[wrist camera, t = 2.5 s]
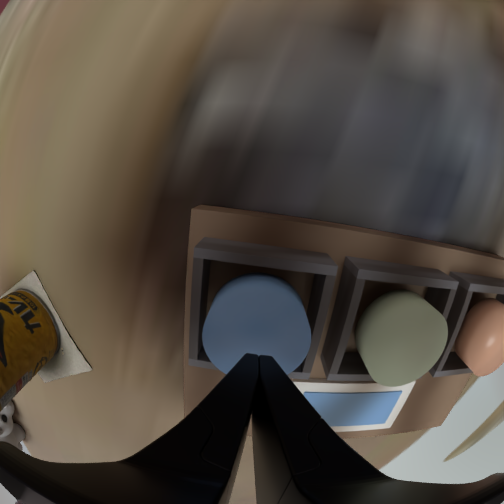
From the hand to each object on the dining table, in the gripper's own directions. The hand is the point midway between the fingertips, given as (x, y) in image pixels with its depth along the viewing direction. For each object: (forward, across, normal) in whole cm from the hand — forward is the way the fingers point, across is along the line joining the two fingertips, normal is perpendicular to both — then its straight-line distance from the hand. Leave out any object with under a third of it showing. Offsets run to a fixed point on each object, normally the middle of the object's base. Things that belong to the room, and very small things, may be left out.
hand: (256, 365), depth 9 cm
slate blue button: (+3, 0, 0) cm, 3 cm away
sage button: (+3, -7, 0) cm, 7 cm away
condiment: (+7, +16, +7) cm, 19 cm away
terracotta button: (+3, -13, 0) cm, 13 cm away
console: (+7, -6, +3) cm, 10 cm away
